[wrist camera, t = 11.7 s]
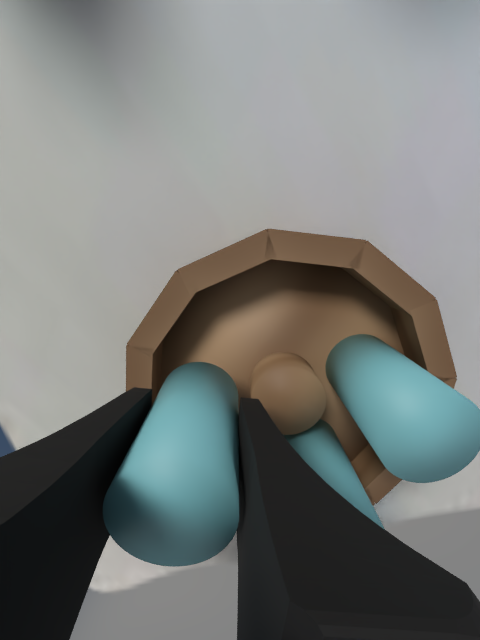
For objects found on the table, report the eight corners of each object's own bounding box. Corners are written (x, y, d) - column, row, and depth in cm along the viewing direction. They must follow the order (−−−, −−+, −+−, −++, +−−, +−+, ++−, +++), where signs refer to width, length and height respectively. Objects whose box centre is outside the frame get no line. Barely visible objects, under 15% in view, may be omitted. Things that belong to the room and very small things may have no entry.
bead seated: (399, 337, 13) (500, 397, 8) (383, 398, 13) (465, 486, 8) (332, 330, 12) (392, 386, 8) (319, 392, 13) (367, 478, 8)
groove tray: (449, 253, 12) (501, 255, 10) (379, 493, 16) (404, 538, 13) (148, 217, 12) (126, 211, 9) (142, 473, 15) (124, 516, 13)
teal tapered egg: (325, 407, 13) (374, 500, 9) (344, 457, 14) (399, 567, 9) (266, 428, 14) (281, 530, 9) (287, 476, 14) (312, 593, 10)
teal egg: (241, 364, 11) (244, 464, 6) (235, 432, 12) (233, 569, 7) (161, 358, 11) (99, 455, 6) (160, 428, 11) (105, 563, 7)
